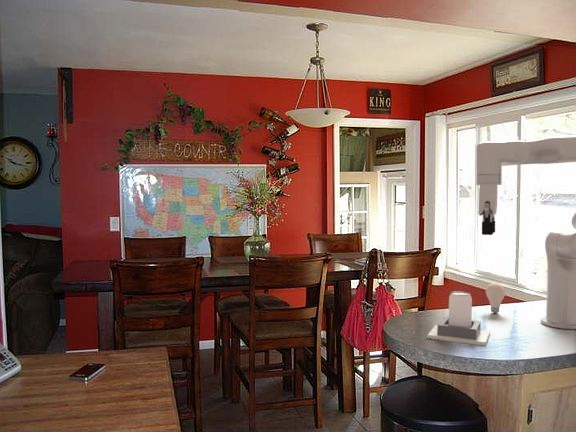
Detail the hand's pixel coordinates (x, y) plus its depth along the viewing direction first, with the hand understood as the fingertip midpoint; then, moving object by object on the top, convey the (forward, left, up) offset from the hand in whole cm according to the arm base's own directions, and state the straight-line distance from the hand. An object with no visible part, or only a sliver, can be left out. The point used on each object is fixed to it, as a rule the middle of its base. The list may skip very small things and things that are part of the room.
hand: (488, 233), depth 160 cm
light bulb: (-1, -19, -30) cm, 36 cm away
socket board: (+6, +18, -30) cm, 35 cm away
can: (+6, +17, -29) cm, 34 cm away
